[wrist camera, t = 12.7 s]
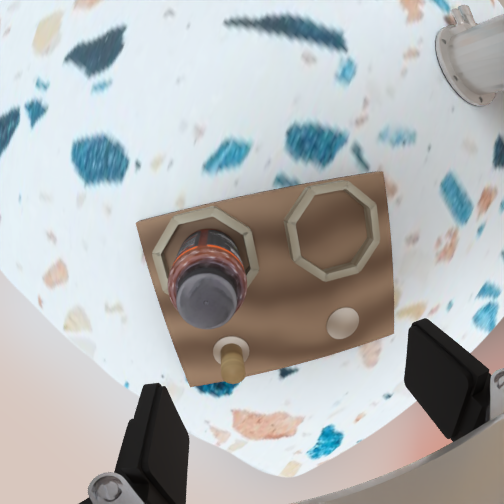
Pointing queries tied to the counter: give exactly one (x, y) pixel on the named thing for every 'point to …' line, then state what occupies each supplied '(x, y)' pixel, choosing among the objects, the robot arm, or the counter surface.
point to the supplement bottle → (207, 279)
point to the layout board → (285, 276)
